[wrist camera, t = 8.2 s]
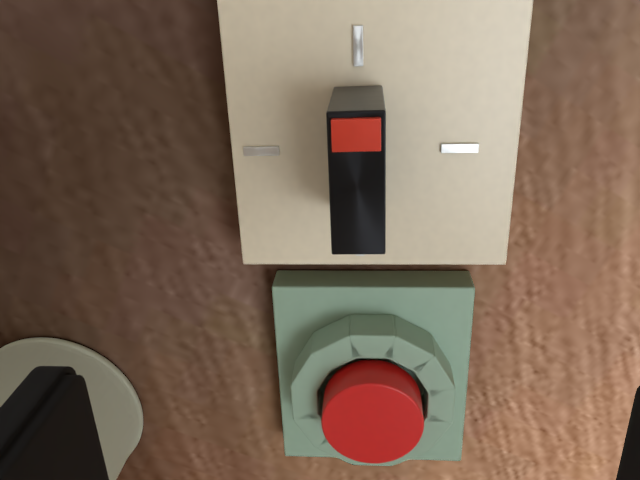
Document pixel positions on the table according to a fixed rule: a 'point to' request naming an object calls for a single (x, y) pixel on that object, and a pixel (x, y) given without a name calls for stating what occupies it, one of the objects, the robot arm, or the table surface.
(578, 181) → the table surface
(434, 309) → the power switch
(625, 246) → the table surface
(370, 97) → the knob
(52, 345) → the can
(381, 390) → the power button
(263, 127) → the panel
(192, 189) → the table surface
